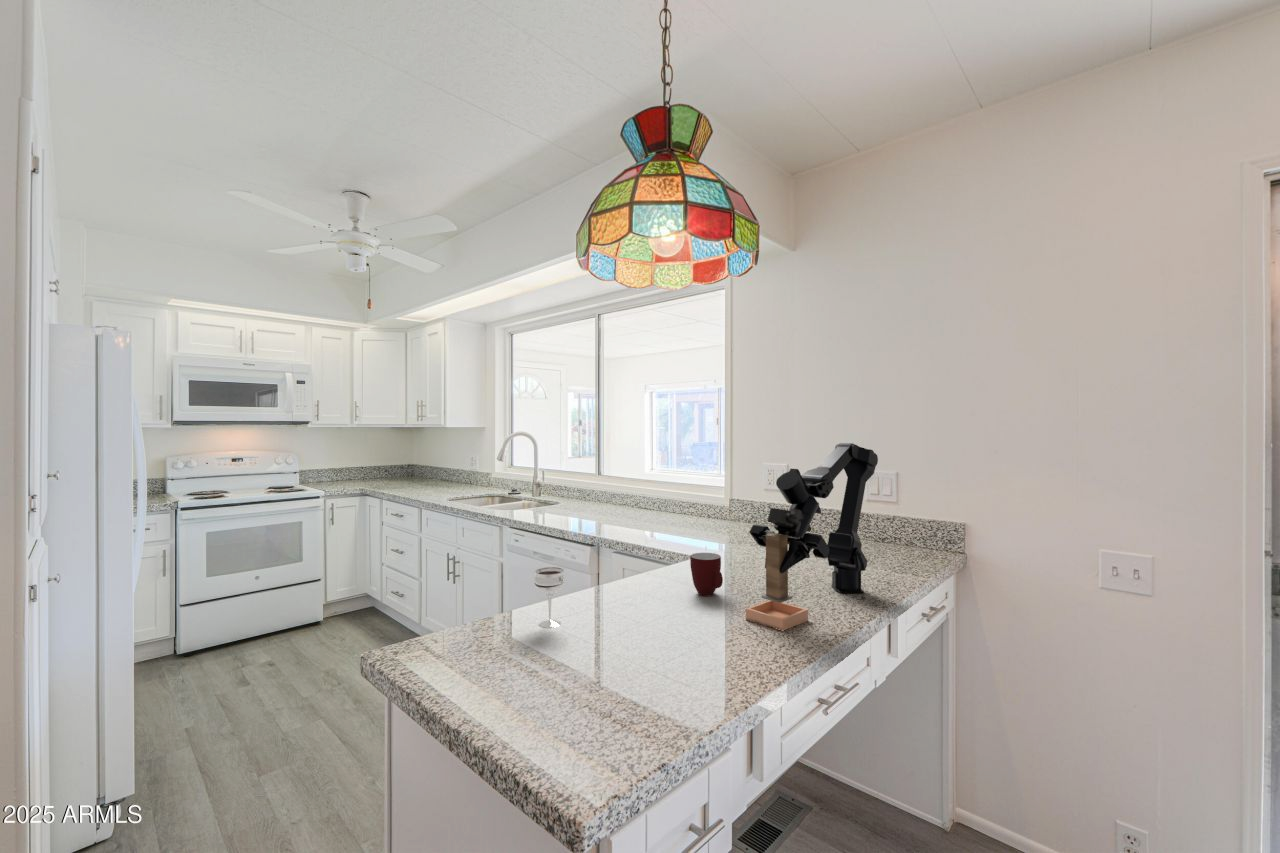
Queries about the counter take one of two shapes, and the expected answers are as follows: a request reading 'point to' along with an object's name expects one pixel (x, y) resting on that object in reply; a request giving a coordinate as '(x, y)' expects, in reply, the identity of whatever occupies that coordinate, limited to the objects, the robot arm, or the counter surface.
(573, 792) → the counter surface
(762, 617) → the dish
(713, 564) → the mug
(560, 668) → the counter surface
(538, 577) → the wineglass
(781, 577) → the wood grain bar
